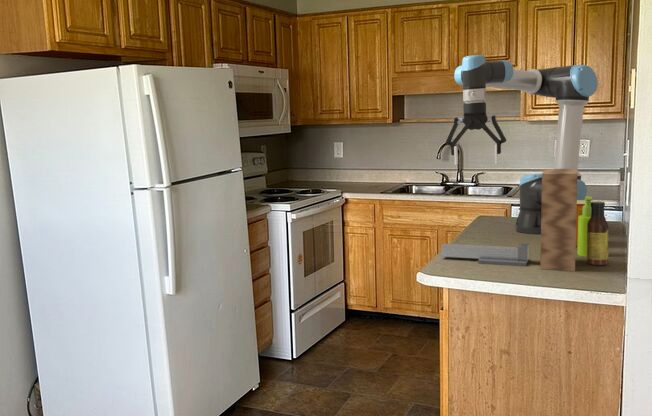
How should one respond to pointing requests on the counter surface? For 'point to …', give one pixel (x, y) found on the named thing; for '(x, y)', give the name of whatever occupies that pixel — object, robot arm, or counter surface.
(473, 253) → the pin
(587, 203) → the soap dispenser
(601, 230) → the sauce bottle
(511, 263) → the base plate
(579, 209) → the baking soda box
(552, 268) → the brown wooden block
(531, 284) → the counter surface
